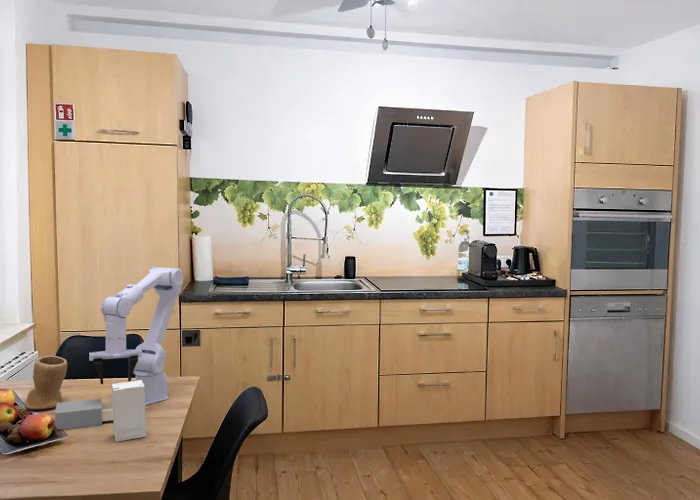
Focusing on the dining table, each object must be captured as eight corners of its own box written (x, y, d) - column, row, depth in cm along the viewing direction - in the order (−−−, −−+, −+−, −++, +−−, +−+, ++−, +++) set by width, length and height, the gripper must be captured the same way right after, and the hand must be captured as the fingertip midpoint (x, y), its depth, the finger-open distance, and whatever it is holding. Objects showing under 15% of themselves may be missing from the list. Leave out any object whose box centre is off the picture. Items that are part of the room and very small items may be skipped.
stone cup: (67, 409, 183) (66, 361, 182) (23, 414, 178) (21, 365, 177) (69, 394, 197) (68, 349, 196) (28, 397, 192) (27, 352, 191)
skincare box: (143, 430, 169) (143, 378, 167) (146, 438, 163) (146, 385, 162) (111, 434, 165) (111, 382, 164) (113, 442, 159) (113, 388, 158)
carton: (55, 430, 167) (55, 413, 166) (57, 419, 175) (56, 402, 174) (101, 425, 171) (101, 408, 171) (101, 414, 179) (101, 398, 179)
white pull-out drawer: (84, 426, 169) (84, 395, 168) (85, 415, 178) (84, 385, 177) (132, 420, 174) (132, 390, 173) (130, 410, 183) (130, 380, 182)
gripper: (89, 341, 170) (89, 388, 171) (142, 338, 176) (142, 383, 177) (89, 336, 177) (89, 381, 177) (140, 333, 182) (140, 377, 183)
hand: (115, 382), depth 178 cm, fingers open, 7 cm apart
